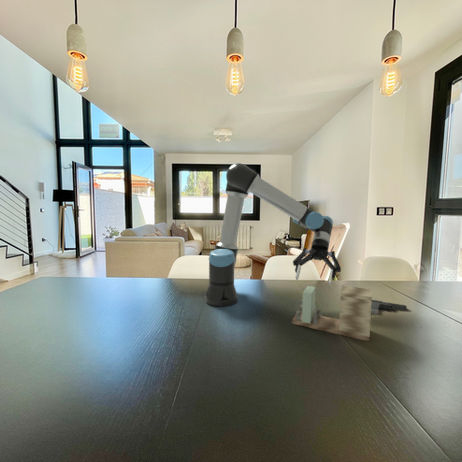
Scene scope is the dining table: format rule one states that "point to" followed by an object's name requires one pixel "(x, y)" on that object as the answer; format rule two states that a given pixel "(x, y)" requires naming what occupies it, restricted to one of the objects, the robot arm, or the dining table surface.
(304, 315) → the pale green block
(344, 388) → the dining table surface
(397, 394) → the dining table surface
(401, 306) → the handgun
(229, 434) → the dining table surface
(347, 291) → the wooden rack
